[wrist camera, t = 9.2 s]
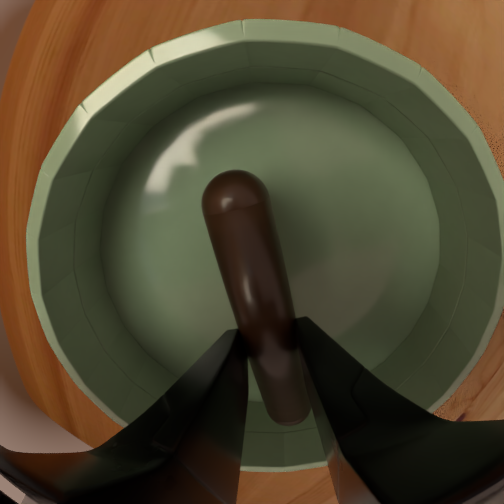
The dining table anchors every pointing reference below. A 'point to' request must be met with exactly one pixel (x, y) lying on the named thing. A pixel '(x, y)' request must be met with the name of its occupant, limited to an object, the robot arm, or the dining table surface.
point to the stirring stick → (257, 288)
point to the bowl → (285, 212)
